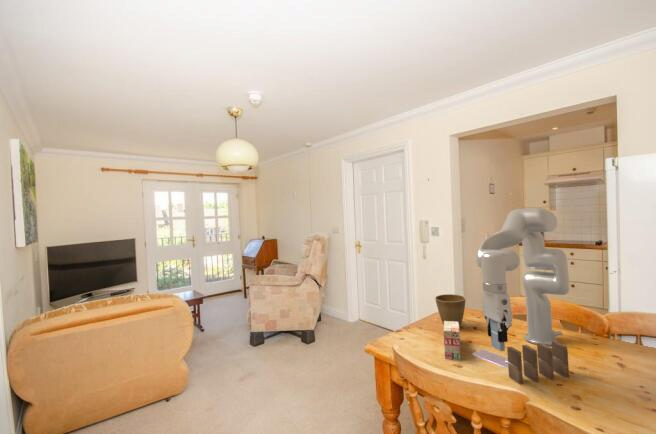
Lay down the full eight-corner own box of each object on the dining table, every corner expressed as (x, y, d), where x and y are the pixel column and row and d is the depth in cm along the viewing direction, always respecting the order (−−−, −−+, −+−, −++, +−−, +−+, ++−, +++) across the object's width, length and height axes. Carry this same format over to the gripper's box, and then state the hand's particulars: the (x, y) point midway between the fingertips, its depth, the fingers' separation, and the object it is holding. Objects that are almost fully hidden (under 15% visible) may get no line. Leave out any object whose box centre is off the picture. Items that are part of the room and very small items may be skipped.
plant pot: (445, 321, 178) (443, 292, 178) (472, 327, 167) (470, 296, 167) (431, 328, 168) (429, 298, 168) (459, 335, 157) (457, 303, 157)
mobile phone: (481, 348, 139) (516, 360, 126) (482, 350, 139) (516, 363, 126) (470, 353, 136) (505, 366, 123) (470, 355, 136) (505, 368, 123)
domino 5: (557, 370, 118) (555, 341, 118) (569, 377, 113) (567, 346, 113) (553, 371, 118) (551, 341, 118) (565, 377, 113) (563, 346, 113)
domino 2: (513, 376, 116) (511, 346, 116) (523, 383, 111) (521, 352, 111) (508, 377, 116) (507, 347, 116) (518, 384, 111) (516, 352, 111)
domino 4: (542, 372, 117) (541, 342, 117) (554, 379, 112) (552, 348, 113) (538, 373, 117) (537, 343, 117) (549, 379, 112) (548, 348, 112)
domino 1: (495, 345, 115) (493, 314, 115) (504, 350, 110) (502, 318, 110) (491, 345, 115) (489, 315, 115) (500, 351, 110) (498, 319, 110)
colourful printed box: (445, 340, 153) (444, 314, 153) (459, 341, 151) (458, 315, 151) (445, 359, 133) (443, 330, 133) (461, 361, 131) (459, 331, 131)
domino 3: (528, 374, 117) (526, 344, 117) (538, 381, 112) (536, 350, 112) (524, 375, 117) (522, 345, 117) (534, 382, 112) (532, 350, 112)
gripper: (521, 291, 105) (524, 347, 105) (489, 282, 122) (492, 329, 121) (500, 293, 104) (503, 349, 104) (471, 283, 121) (473, 331, 121)
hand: (497, 338), depth 113 cm, fingers closed on domino 1, 4 cm apart
